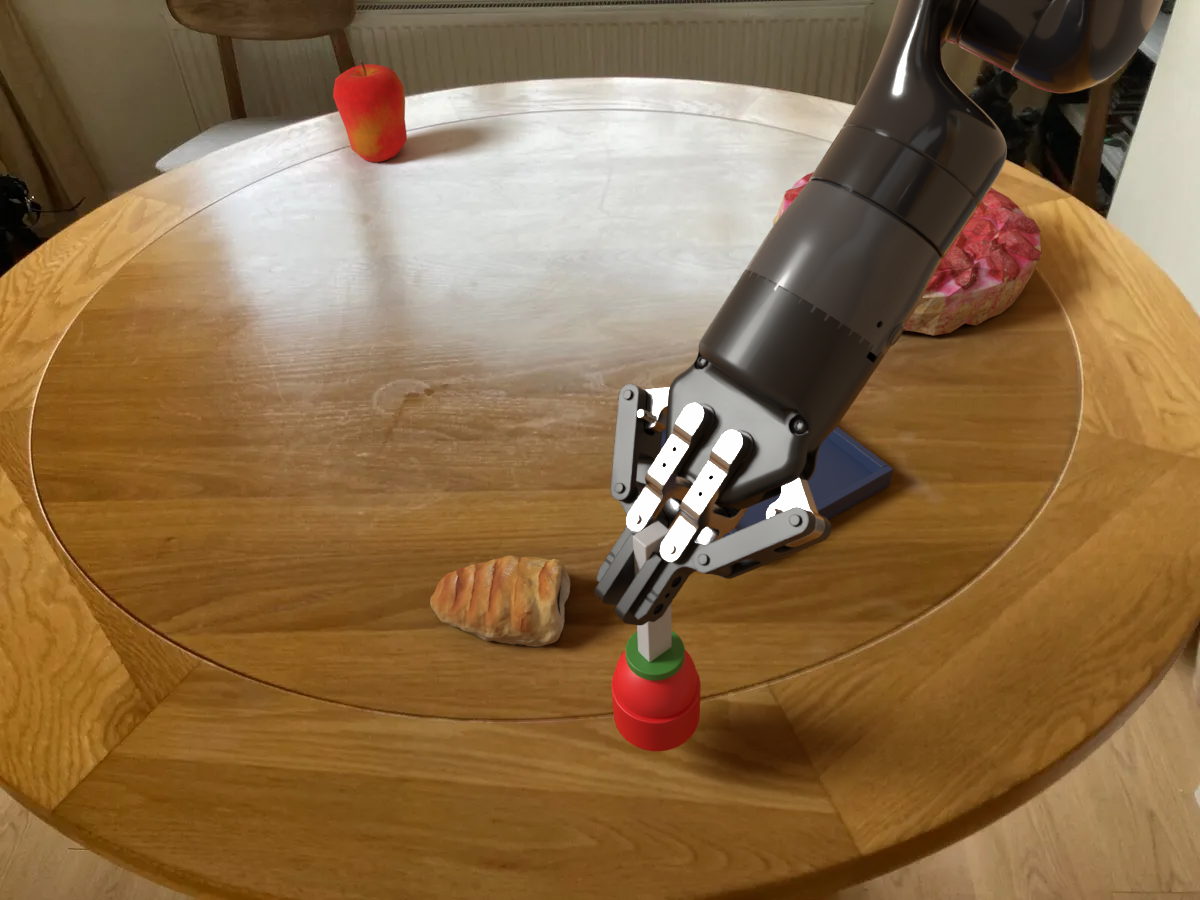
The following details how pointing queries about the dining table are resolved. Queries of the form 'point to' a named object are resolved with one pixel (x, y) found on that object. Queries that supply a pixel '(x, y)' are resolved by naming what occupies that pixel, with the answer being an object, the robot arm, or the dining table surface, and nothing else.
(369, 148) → the apple
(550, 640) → the pastry
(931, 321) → the cake
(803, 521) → the robot arm
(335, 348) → the dining table surface
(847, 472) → the tray
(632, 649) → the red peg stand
